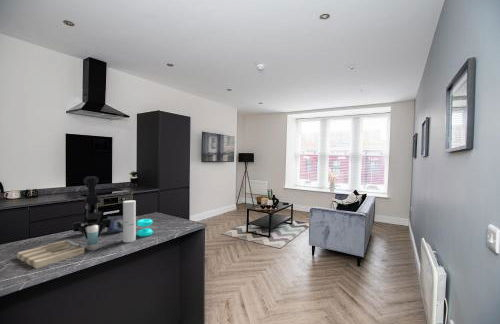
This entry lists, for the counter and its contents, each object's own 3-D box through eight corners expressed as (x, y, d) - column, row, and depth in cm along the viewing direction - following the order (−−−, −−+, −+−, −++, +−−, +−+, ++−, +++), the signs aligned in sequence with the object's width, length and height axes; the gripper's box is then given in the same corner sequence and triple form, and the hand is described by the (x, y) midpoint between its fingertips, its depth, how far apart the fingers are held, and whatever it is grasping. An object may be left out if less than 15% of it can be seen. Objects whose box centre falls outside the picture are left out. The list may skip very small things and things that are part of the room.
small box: (106, 234, 164) (106, 218, 164) (107, 231, 170) (107, 216, 170) (124, 232, 169) (124, 217, 169) (124, 229, 175) (124, 215, 175)
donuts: (155, 219, 166) (143, 223, 157) (155, 233, 166) (143, 238, 157) (145, 217, 170) (133, 221, 162) (145, 231, 171) (133, 235, 162)
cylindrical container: (126, 238, 156) (126, 200, 155) (137, 238, 157) (137, 200, 156) (121, 242, 149) (121, 202, 148) (133, 242, 150) (133, 202, 149)
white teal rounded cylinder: (84, 249, 138) (84, 226, 138) (95, 245, 143) (94, 224, 143) (90, 251, 135) (90, 228, 135) (100, 247, 140) (100, 225, 140)
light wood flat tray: (17, 258, 125) (17, 252, 125) (64, 245, 143) (64, 240, 143) (36, 268, 114) (36, 262, 114) (84, 253, 132) (84, 247, 132)
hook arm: (64, 242, 140) (64, 239, 140) (67, 241, 141) (67, 239, 141) (77, 247, 133) (77, 244, 133) (80, 246, 134) (80, 243, 134)
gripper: (72, 209, 137) (71, 233, 128) (110, 205, 147) (112, 228, 138) (73, 219, 143) (72, 243, 134) (109, 215, 154) (111, 237, 145)
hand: (92, 237), depth 138 cm, fingers closed on white teal rounded cylinder, 6 cm apart
